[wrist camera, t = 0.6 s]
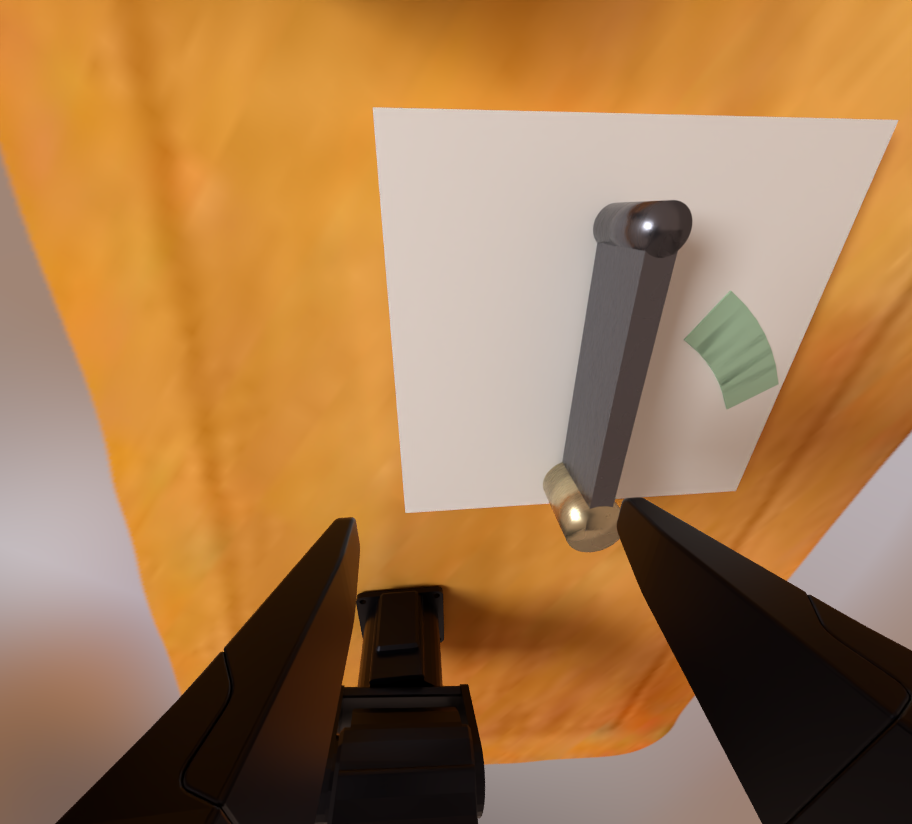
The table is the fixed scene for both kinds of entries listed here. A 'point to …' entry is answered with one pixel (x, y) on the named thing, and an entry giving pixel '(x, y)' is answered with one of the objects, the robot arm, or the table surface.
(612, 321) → the pointer
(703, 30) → the table surface
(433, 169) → the dial board
